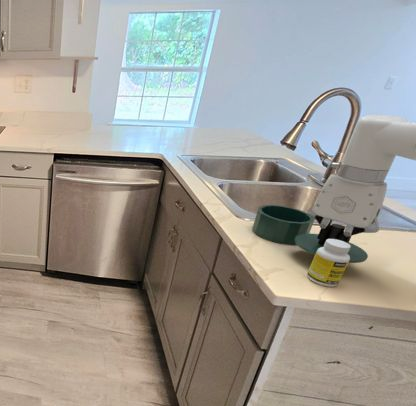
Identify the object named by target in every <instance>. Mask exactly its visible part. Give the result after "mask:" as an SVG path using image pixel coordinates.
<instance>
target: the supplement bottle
mask: <svg viewBox="0 0 416 406" xmlns="http://www.w3.org/2000/svg"><path fill="white" fill-rule="evenodd" d="M350 247H351V246H350V244H348V243H346V242H344V241H341V240H337V239H327V240H326V242H325V244H324V247H320V248H319V249H318V250H317V252H316V254H315V255H314V256H313V259H312V261H311V264H310V266H309V268H308V270H307V273H306V277H307V279H308V280H310V281H312V282H313V283H315V284H318V285H320V286H323V287H329V288H330V287H331V288H332V287H333V288H334V287H337V286H338V285H339V283H340V282H341V279H342V277H343V275H344V273H345V271H346V269H347V267H348V265H349V264H350V263H349V260H350V256H349V255H348V254H347V253H348V252H349V250H350Z"/></svg>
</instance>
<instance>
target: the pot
mask: <svg viewBox="0 0 416 406" xmlns="http://www.w3.org/2000/svg"><path fill="white" fill-rule="evenodd" d="M257 208H258V209H257V212H256V214H255V218H254V221H253V224H252V228H251V230H252V232H253V233H254V235H256V236H258V237H260V238H262V239H263V240H266V241H269V242H272V243H277V244H281V245H288V246H298V245H297V244H296V243H295V237H296V236H297V235H300V234H307V233H309V234H311V231H312V228H313V225H314V223H315V217H313V216H312V215H310V214H309V213H308V212H307V211H304V210H301V209H298V208H294V207H290V206H286V205H280V204H263V205H260V206H259V207H257Z"/></svg>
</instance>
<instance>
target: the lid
mask: <svg viewBox="0 0 416 406" xmlns="http://www.w3.org/2000/svg"><path fill="white" fill-rule="evenodd" d="M345 229H346V226H344V225H342V224H339V223H332V224H331V227H330V230H329V232H328V234H327V237H326V239H325V242H326V240H327V239H337V240H338V238H339V236H340V235H341V234H343V232H344V231H345ZM318 234H319V233H307V234H300V235H297V236H296V237H295V243H296V244H297V245H296V246H298V247H299V248H300V249H301V250H304V251H306V252H308V254H309V253H310V254H312V255H314V256H315V254H316V252H317V250H318V249H319V248H320V247H324V244H325V242H324V244H321V245H320V244H318V241H319V239H317V237H318ZM348 244H350V246H351V247H350V250H349V252H348V253H347V254H348V255H349V256H350V260H349V263H348V264H358V263H364V262H366V261H367V260H368V257H369V254H368V253H367V252H366V251H365V250H364V249H363V248H362V247H360V246H358V245H357V244H355V243H352V242H350V241H349V243H348Z"/></svg>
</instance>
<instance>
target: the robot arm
mask: <svg viewBox="0 0 416 406" xmlns="http://www.w3.org/2000/svg"><path fill="white" fill-rule="evenodd" d="M352 131H353V132H352V134H351V137H350V138H349V141H348V144H347V147H346V149H345V152H344V154H343V156H342V159H341V161H340V162H335V161H333V162H331V165H330V168H331V169H334V170H335V173H331V174H330V175H329V176H328V178H327V179H326V181H325V182H324V184H323V186H322V187H321V189H320V191H319V193H318V195H317V198H316V200H315V201H314V203H313V205H312V206H311V207H309V208H308V209H307V211H306V213H308V214H310V215H311V216H312V217H314V220H316V222H317V223H318V224H319V228H320V230H319V233H317V234H318V237H317V239H319V241H318V244H320V245H321V244H324V242H325V239H326V237H327V234H328V232H329V230H330V227H331V225H332V224H333V223H334V221H335V222H338V223H342V224H344V225H346V226H345V230H344V232H343V234H341V235H340V236H339V238H338V240H341V241H344V242H346V243H349V242H350V241H351V239H352V236H356V235H358V234H376V233H378V232H379V231H380V225H379V219H378V218H379V215H380V213H381V210H382V207H383V205H384V201H385V198H386V194H387V187H388V184H387V182H385V180H386V178H387V176H388V173H389V171H390V169H391V167H392V165H393V164H394V163H393V162H394V161H395V159H396V157H401V158H405V159H408V160H412V161H416V122H413V121H412V122H411V121H408V120H407V119H406V118H403V117H400V116H395V115H386V114H368V115H364V116H362V117H360V118H359V119H358V121H357V122H356V124H355V126H354V128H353V130H352Z"/></svg>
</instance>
